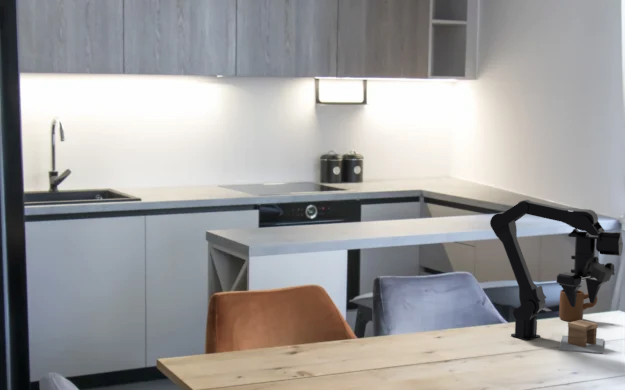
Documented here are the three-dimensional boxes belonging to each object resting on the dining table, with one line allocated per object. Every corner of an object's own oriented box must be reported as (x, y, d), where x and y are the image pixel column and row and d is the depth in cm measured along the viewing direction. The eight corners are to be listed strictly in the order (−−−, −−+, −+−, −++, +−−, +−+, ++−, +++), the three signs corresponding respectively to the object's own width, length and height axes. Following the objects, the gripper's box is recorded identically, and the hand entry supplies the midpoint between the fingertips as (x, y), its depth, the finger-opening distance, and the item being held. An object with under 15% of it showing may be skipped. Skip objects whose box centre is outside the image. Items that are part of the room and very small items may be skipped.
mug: (594, 317, 309) (595, 289, 308) (598, 323, 301) (599, 294, 300) (557, 316, 310) (558, 288, 309) (560, 321, 303) (561, 293, 302)
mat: (602, 353, 264) (602, 352, 264) (559, 349, 268) (559, 348, 268) (603, 340, 280) (603, 338, 280) (562, 336, 283) (562, 335, 283)
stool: (584, 347, 270) (585, 326, 269) (567, 343, 274) (568, 322, 274) (596, 344, 273) (597, 323, 273) (579, 340, 278) (580, 319, 277)
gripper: (589, 259, 259) (586, 314, 261) (627, 253, 271) (624, 305, 273) (556, 254, 268) (554, 307, 270) (594, 248, 280) (592, 299, 281)
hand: (582, 305), depth 273 cm, fingers open, 9 cm apart
